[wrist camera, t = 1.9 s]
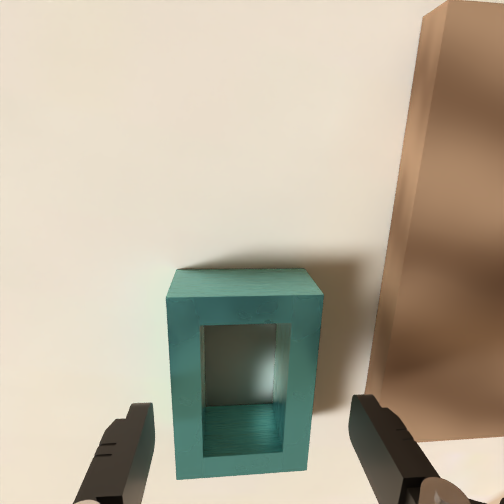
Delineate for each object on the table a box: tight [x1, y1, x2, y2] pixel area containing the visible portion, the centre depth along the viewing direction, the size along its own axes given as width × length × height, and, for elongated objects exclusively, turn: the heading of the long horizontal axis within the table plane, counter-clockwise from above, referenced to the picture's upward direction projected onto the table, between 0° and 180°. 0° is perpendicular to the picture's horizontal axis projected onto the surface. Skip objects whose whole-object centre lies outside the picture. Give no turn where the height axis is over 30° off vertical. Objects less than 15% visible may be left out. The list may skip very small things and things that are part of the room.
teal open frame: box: [166, 268, 324, 480], centre depth 15 cm, size 9×6×3 cm, turn 178°
